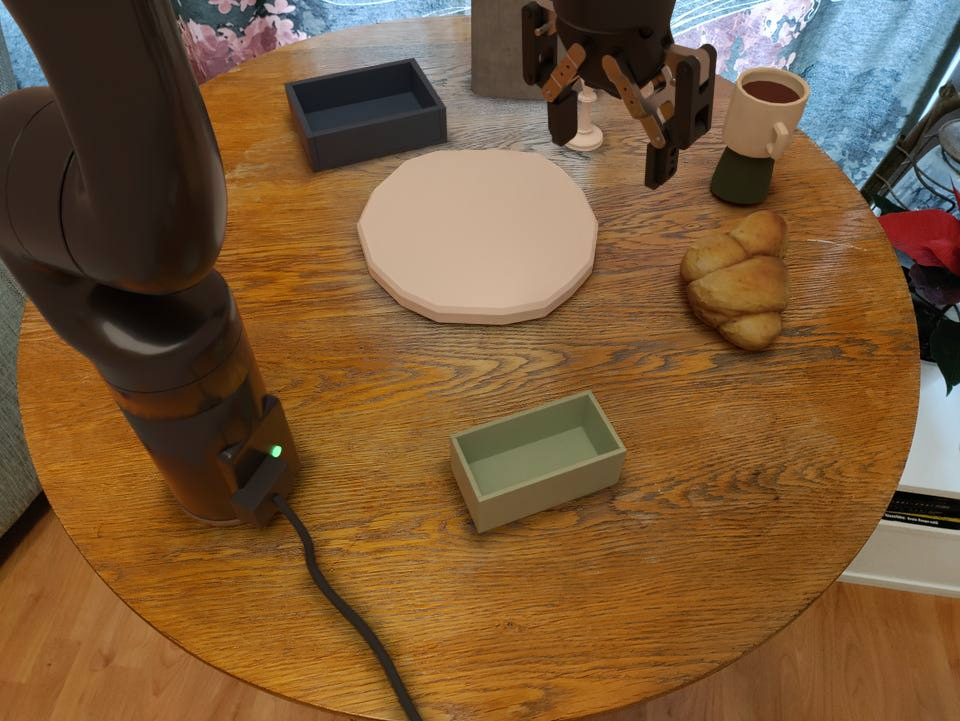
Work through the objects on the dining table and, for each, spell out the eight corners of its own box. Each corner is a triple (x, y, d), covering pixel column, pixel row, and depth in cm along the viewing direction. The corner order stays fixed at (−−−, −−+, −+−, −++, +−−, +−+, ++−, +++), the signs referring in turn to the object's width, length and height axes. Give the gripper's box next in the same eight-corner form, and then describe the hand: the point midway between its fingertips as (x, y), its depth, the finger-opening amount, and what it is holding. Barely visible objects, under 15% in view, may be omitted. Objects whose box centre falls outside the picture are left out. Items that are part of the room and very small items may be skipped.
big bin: (416, 91, 97) (414, 57, 93) (447, 142, 90) (446, 107, 87) (291, 117, 93) (283, 83, 90) (313, 172, 86) (306, 137, 83)
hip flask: (595, 84, 98) (618, -84, 83) (597, 101, 96) (621, -68, 80) (471, 81, 98) (471, -87, 83) (470, 99, 96) (469, -71, 80)
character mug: (785, 222, 81) (829, 115, 71) (720, 226, 81) (756, 119, 71) (752, 160, 88) (789, 54, 78) (692, 163, 88) (721, 57, 78)
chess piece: (555, 131, 92) (562, 52, 84) (593, 124, 93) (603, 45, 85) (570, 154, 89) (579, 75, 81) (609, 147, 90) (622, 68, 82)
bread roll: (792, 362, 69) (823, 301, 63) (684, 357, 70) (705, 297, 63) (765, 263, 77) (791, 201, 71) (669, 260, 78) (686, 197, 71)
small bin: (583, 424, 65) (590, 389, 61) (617, 484, 61) (627, 450, 57) (450, 468, 62) (449, 434, 58) (478, 534, 58) (478, 502, 55)
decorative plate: (364, 133, 84) (589, 133, 84) (368, 164, 87) (585, 164, 88) (340, 298, 68) (616, 297, 69) (346, 328, 72) (609, 328, 72)
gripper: (481, -77, 46) (504, 151, 58) (682, -19, 38) (658, 227, 51) (563, -121, 49) (568, 105, 61) (764, -74, 41) (723, 171, 54)
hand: (609, 161), depth 56 cm, fingers open, 8 cm apart
